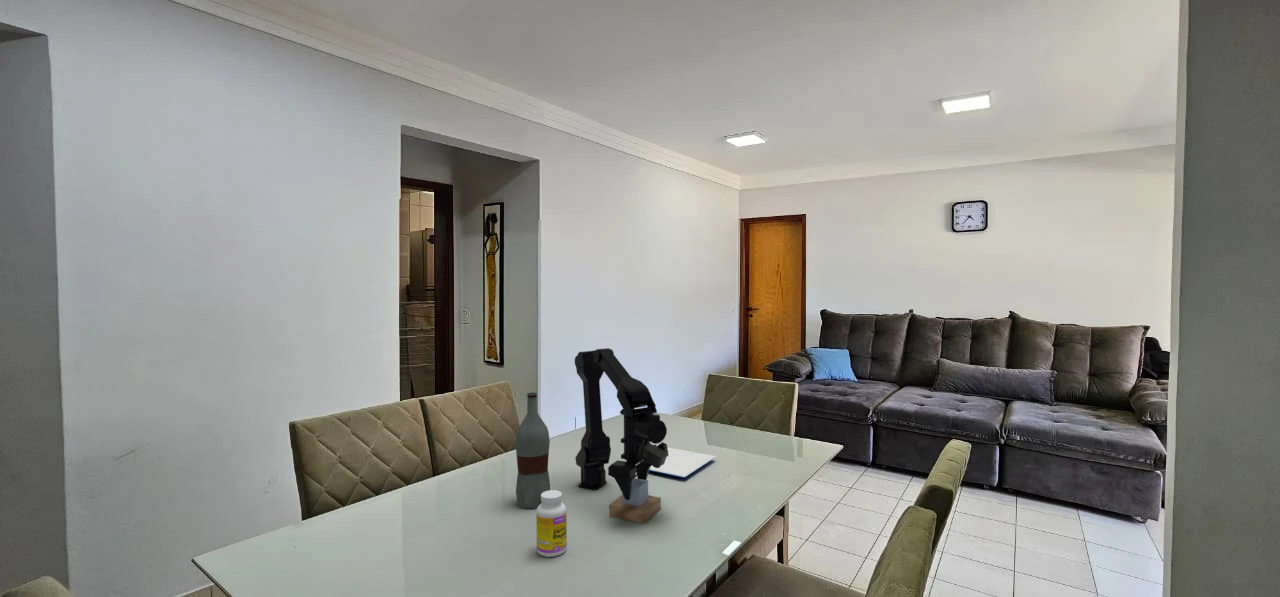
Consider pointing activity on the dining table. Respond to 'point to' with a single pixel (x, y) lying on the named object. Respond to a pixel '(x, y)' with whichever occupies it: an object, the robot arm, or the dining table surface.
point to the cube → (637, 492)
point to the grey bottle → (532, 457)
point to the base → (635, 509)
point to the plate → (682, 462)
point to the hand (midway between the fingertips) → (635, 493)
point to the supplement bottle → (551, 524)
